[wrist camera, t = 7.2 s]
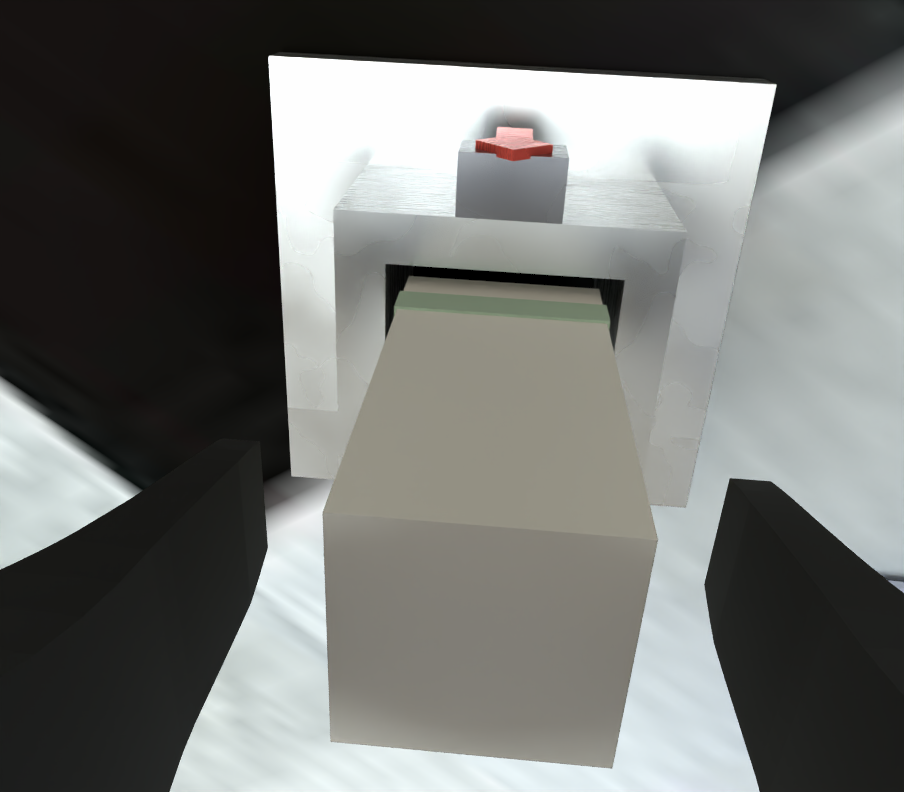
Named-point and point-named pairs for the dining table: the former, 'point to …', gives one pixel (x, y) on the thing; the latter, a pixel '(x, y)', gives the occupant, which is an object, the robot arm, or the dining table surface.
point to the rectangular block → (488, 531)
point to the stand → (511, 221)
